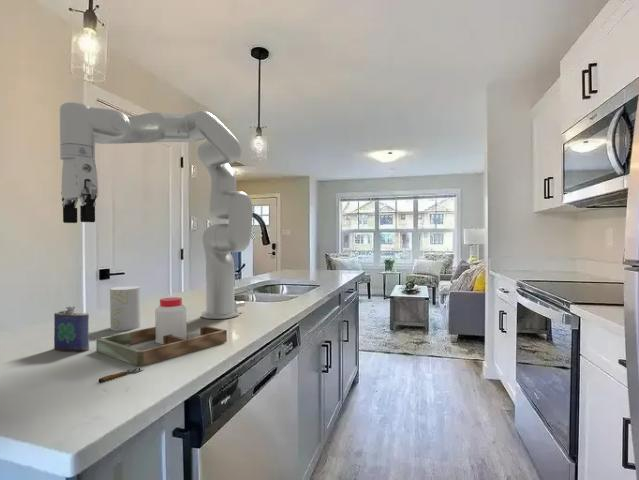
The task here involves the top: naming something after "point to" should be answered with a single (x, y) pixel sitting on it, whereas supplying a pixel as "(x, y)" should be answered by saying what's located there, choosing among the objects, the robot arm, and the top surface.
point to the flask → (71, 331)
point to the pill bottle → (170, 319)
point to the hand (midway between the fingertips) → (78, 222)
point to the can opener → (118, 375)
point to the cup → (125, 308)
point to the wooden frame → (171, 346)
